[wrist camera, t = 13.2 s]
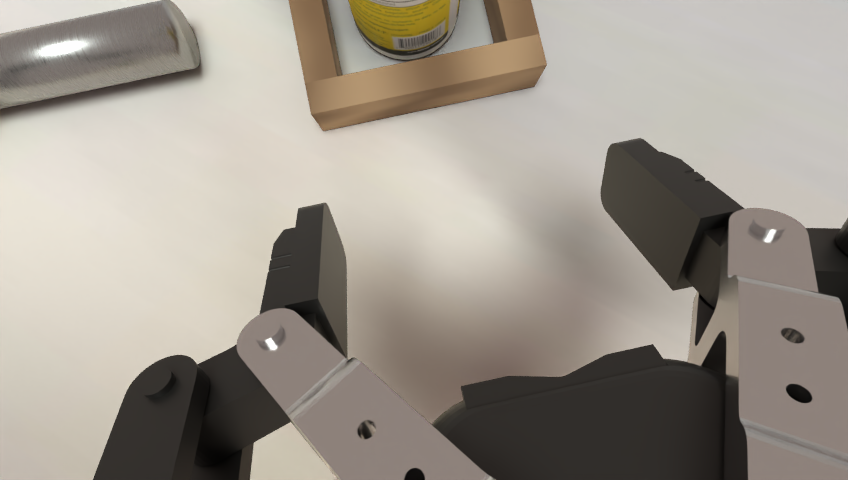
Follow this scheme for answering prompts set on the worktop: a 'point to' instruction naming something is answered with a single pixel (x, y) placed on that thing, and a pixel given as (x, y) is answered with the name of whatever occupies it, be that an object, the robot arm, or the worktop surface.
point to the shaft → (95, 52)
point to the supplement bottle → (405, 25)
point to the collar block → (415, 68)
